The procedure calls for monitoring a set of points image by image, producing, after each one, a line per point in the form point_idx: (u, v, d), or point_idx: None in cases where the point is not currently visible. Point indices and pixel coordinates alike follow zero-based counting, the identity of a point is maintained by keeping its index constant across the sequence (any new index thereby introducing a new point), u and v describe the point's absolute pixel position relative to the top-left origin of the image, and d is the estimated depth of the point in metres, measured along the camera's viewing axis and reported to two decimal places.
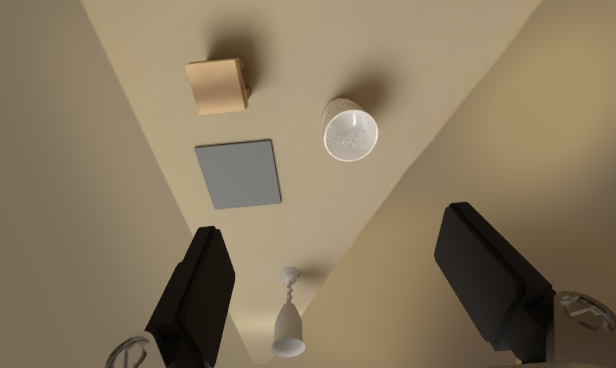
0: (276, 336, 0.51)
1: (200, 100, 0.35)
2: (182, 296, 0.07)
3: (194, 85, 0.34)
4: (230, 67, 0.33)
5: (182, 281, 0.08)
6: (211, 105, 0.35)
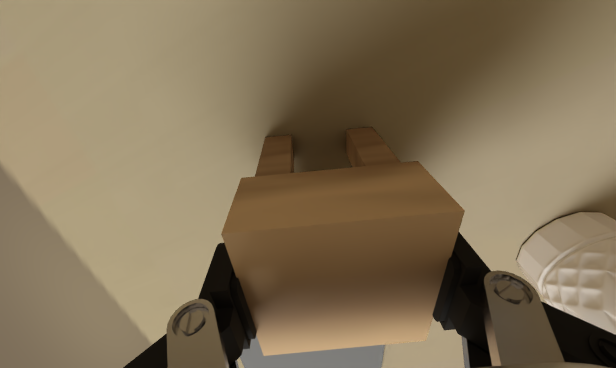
0: None
1: (273, 327, 0.09)
2: (232, 269, 0.08)
3: (257, 293, 0.08)
4: (431, 237, 0.07)
5: (229, 257, 0.08)
6: (310, 336, 0.10)
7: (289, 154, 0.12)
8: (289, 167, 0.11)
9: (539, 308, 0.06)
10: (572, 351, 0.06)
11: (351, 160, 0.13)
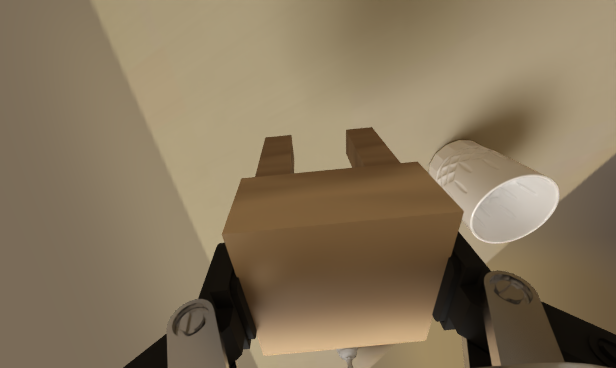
0: None
1: (273, 327, 0.09)
2: (232, 269, 0.08)
3: (258, 293, 0.08)
4: (431, 237, 0.07)
5: (229, 257, 0.08)
6: (310, 336, 0.10)
7: (289, 154, 0.12)
8: (289, 167, 0.11)
9: (539, 308, 0.06)
10: (572, 351, 0.06)
11: (351, 160, 0.13)
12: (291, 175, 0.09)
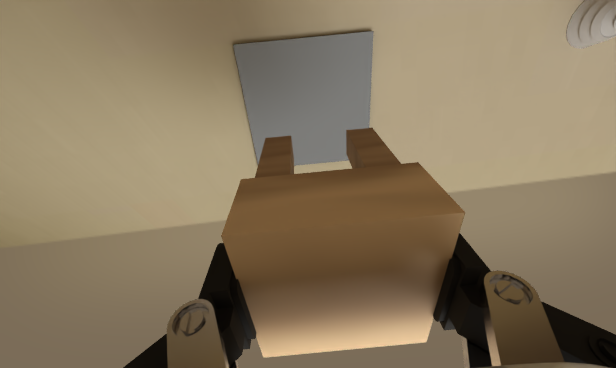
0: None
1: (273, 329, 0.09)
2: (232, 269, 0.08)
3: (257, 295, 0.08)
4: (432, 239, 0.07)
5: None
6: (310, 338, 0.10)
7: (289, 155, 0.12)
8: (289, 168, 0.11)
9: (539, 308, 0.06)
10: (572, 351, 0.06)
11: (351, 161, 0.13)
12: (291, 176, 0.09)
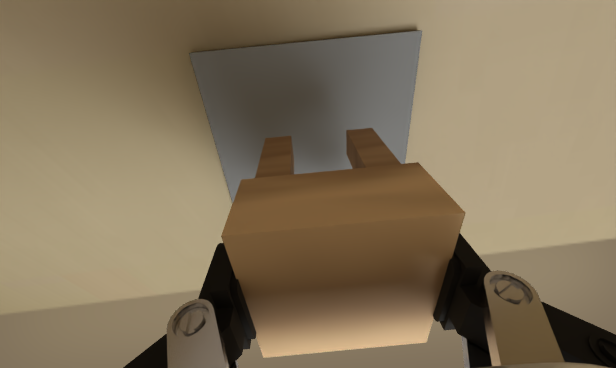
0: None
1: (273, 329, 0.09)
2: (232, 270, 0.08)
3: (257, 295, 0.08)
4: (432, 239, 0.07)
5: None
6: (310, 338, 0.10)
7: (289, 155, 0.12)
8: (289, 168, 0.11)
9: (539, 308, 0.06)
10: (572, 351, 0.06)
11: (351, 161, 0.13)
12: (291, 176, 0.09)
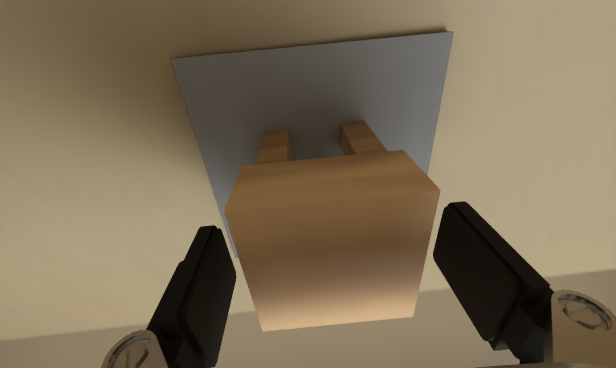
0: None
1: (271, 302, 0.10)
2: (183, 296, 0.07)
3: (256, 269, 0.09)
4: (412, 215, 0.08)
5: (183, 280, 0.08)
6: (306, 311, 0.10)
7: (286, 146, 0.12)
8: (286, 157, 0.11)
9: None
10: None
11: (345, 152, 0.14)
12: (287, 162, 0.10)
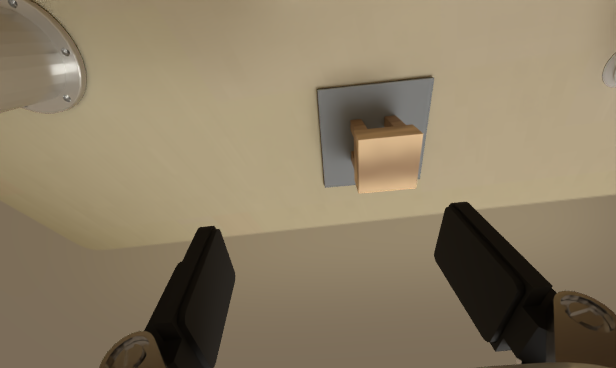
0: None
1: (364, 178, 0.28)
2: (182, 297, 0.07)
3: (363, 162, 0.27)
4: (414, 142, 0.26)
5: (182, 281, 0.08)
6: (376, 183, 0.29)
7: (364, 125, 0.31)
8: (366, 128, 0.30)
9: None
10: None
11: None
12: (370, 129, 0.28)
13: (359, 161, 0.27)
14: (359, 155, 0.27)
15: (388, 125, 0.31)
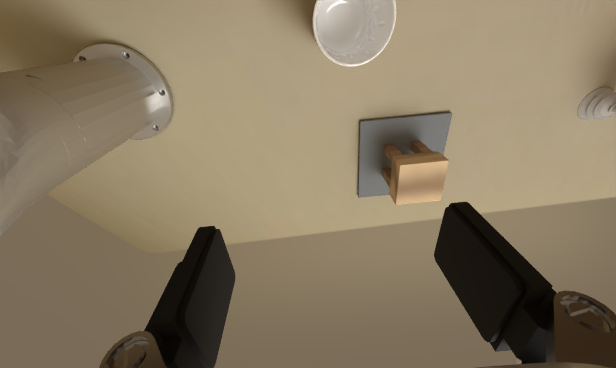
0: None
1: (401, 193, 0.36)
2: (182, 297, 0.07)
3: (402, 181, 0.35)
4: (442, 166, 0.34)
5: (182, 281, 0.08)
6: (410, 197, 0.37)
7: (398, 150, 0.39)
8: (401, 153, 0.38)
9: None
10: None
11: (414, 152, 0.40)
12: (406, 154, 0.36)
13: (399, 180, 0.35)
14: (399, 176, 0.35)
15: (416, 149, 0.39)
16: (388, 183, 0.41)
